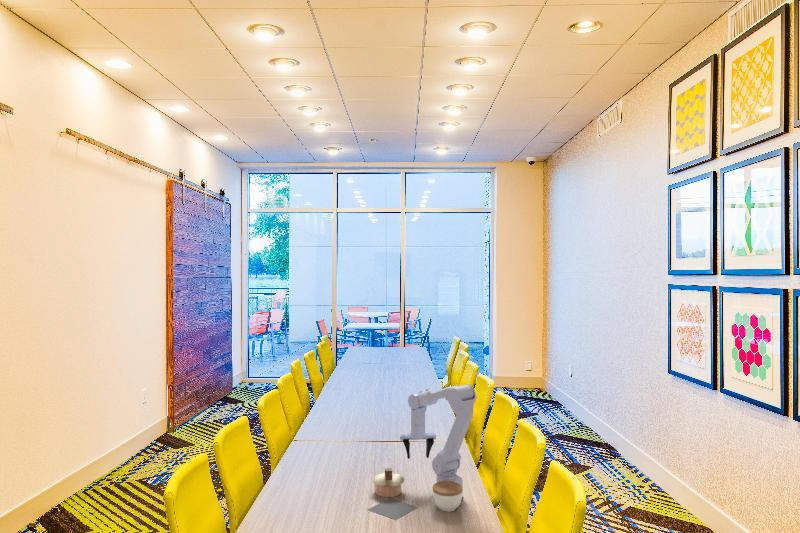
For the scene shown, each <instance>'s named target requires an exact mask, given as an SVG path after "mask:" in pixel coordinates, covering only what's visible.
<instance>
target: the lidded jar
mask: <svg viewBox="0 0 800 533" xmlns="http://www.w3.org/2000/svg"><path fill="white" fill-rule="evenodd" d="M463 489H464V488H462V486H461V485H460V484H459V483H456V482H452V481H441V482H437V481H436V483H435V482H434V484H433V485H432V495H433V497H432V498H433V501H434V503H435V505H436V506H437V508H438V509H440V510H441V511H442V512H447V513H448V512H449V513H450V512H454V511H456V510H457V508H458V507H459V506H460V505H461V503H462V499H463V497H462V490H463ZM463 491H464V490H463Z"/></svg>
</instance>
